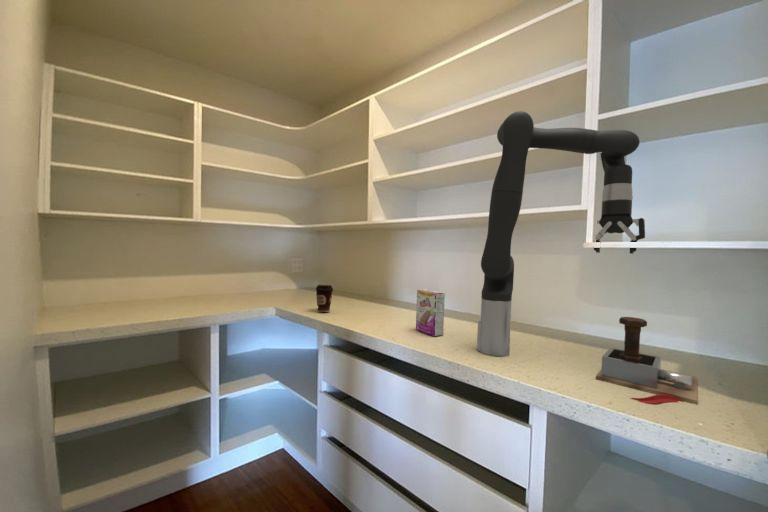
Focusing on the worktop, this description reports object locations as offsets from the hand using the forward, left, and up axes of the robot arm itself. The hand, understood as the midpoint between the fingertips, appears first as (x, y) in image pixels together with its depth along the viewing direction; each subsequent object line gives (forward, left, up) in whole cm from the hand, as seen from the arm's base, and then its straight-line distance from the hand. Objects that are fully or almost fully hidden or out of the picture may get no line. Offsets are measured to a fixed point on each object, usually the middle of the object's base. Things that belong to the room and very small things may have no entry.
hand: (614, 253), depth 100 cm
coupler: (+7, -15, -33) cm, 37 cm away
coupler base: (+7, -15, -33) cm, 37 cm away
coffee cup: (-116, -23, -33) cm, 123 cm away
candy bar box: (-56, -17, -33) cm, 67 cm away
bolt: (+7, -15, -32) cm, 36 cm away
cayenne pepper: (+13, -26, -34) cm, 45 cm away
